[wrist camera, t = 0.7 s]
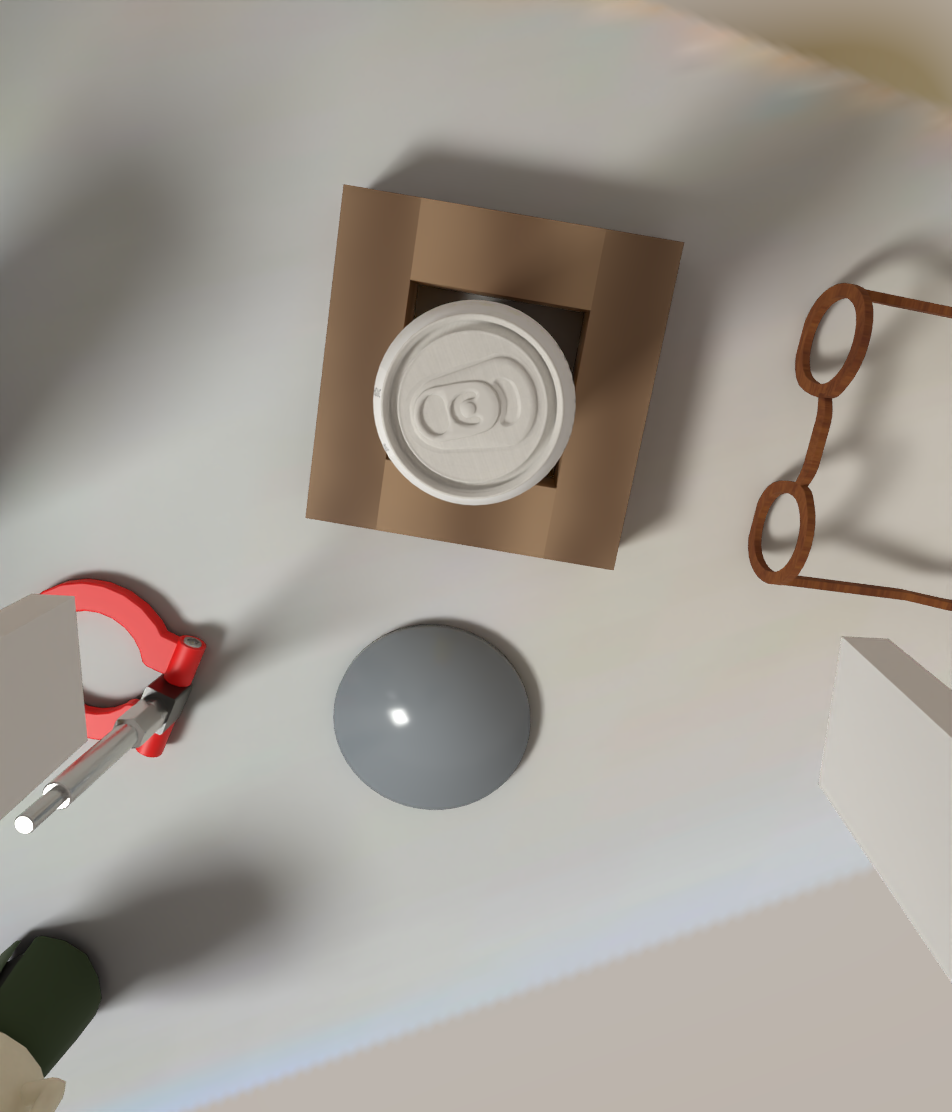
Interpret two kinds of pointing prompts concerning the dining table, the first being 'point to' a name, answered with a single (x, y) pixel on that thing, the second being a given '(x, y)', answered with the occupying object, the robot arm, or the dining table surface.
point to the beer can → (474, 402)
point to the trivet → (432, 717)
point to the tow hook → (135, 719)
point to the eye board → (507, 273)
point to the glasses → (818, 438)
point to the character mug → (41, 1019)
